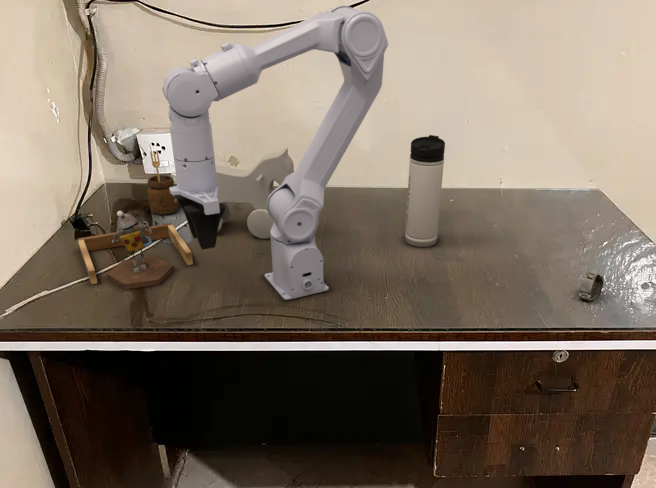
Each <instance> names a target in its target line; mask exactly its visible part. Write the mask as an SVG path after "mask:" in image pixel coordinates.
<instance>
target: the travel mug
mask: <svg viewBox="0 0 656 488" xmlns="http://www.w3.org/2000/svg"><path fill="white" fill-rule="evenodd" d="M445 148H446V142H445V140H443V139H442V138H440V137H439V135H433V134H429V135H428V136H420V137H416V138H414V139H413V140H412V141H411V142H410V154H409V166H408V180H407V181H408V183H407V196H406V197H407V199H406V216H405V231H404V233H405V234H404V240H405V241H404V242H406V243H407V244H408V245H410V246H412V247H416V248H430V247H432V246H434V245H436V244H437V243H438V232H439V220H440V211H441V210H440V209H441V208H440V207H441V199H442V185H443V176H444V164H445V162H444V161H445V150H446V149H445Z"/></svg>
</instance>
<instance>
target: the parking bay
mask: <svg viewBox="0 0 656 488" xmlns="http://www.w3.org/2000/svg"><path fill="white" fill-rule="evenodd" d="M149 227H150V228H151V229H150V230H151V232H152V235H150V234H149V232H148V231H147V230H143V235H144V236H148V237H149V238H150V239H151V241H157V240H162V239H170V240H171V242H172V244H173V246H174V247H175V248H176V250H177V251H178V253H179V254H180V256H181V257H182V260H184V262H185V264H186V265H187V266H192V265H194V260H193V252H192V251H191V249H190V247H189V246H188V244H187V243H186V242H185V240H184V239H183V238H182V236H181V235H180V233H179V232H178V230H177V229H176V227H175V226H174V224H173V223H172V222H169V223H163V224H157V225H151V226H150V225H149ZM114 233H117V231H115V232H108V233H103V234H102V233H101V234H96V235H91V236H85V237H78V238H77V239H76V240H77V244H78V249H79V252H80V255H81V258H82V261H83V264H84V267H85V270H86V273H87V276H88V280H89V281H90V284H91V285H95V284H98V278H97V273H96V268H95V266H94V264H93V261H92V258H91V256H90V253H89V252H93V251H100V250H106V249H111V248H117V247H124V245H123V244H122V242H121V241H120V237H119V236H118V237H117V243H116V244H114V243H112V241H113V240H114ZM144 241H145V242H146V243H147V242H148V240H147V239H145V240H144Z"/></svg>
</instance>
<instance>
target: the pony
mask: <svg viewBox="0 0 656 488" xmlns="http://www.w3.org/2000/svg"><path fill="white" fill-rule="evenodd" d="M293 161H294V160H293V159H292V158H291V156H290V155H289V148H288V147H284V148H283V149H282V150H279V151H274V152H269V153H268V154H265V156H263V157H262V158H261V159H260V160H259V162H258V163H257V164H256V165H255V166H253V167H252V168H250V169H241V168H234V167H230V166H226V165H219V164H215V167H216V177H217V183H218V184H219V192H218V200H219V203H223V204H224V205H225V212H224V213H223V215H222V217H221V220H220V223H219V227H218V233H219V232H220V231H221V230H222V228H223V224H224V223H226V222H228V220H229V219H230V218H231V213H232V209H231V207H230V204H238V205H239V204H240V205H243V204H244V205H245V204H246V205H251V207H252V208H253V209H254V210H252V211H251V213H250V214H249V215H248V216H247V219H246V226H247V228H248V231H249V232H250V233H251V234H252V235H253V236H254V237H256V238H258V239H263V240H264V239H265V240H266V239H269V238H270V239H271V236H270V231H271V228H272V226H273V223H274V219H273V218H272V217H271V216H270V215H269V213H268V211H267V200H268V197H269V195H270V194H271V193H272V192H273V191H274V190H275V187H274V184H275V183H274V182H276V183H277V184H278V186H280V185H281V184H282V183H283V181H284V179H285V177H286V176H288V175H289V174H291V173H293V172H294V171H295V170H294V169H295V167H294V166H295V165H294V162H293Z"/></svg>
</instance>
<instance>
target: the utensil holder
mask: <svg viewBox="0 0 656 488" xmlns="http://www.w3.org/2000/svg"><path fill="white" fill-rule="evenodd" d="M149 154H150V159H151V165H152V167H153V168H155V172H154V174H153V175H152V176H150V177H148V178H147V186H148V187H147V201H148V205H149V209H150V212H151V213H152V214H154V215H158V216H167V215H173V214H175V213H177V212H178V211H179V208H180V204H179V202H178V200H177V199H176V198H175V196H174V195H172V194H171V193H170V190H169V188H170V187H174V186H175V180H174V178H173V176H171V175H168V174H160V171H159V170H162V169H161V166H162V167H166V165H165V164H164V163H162V161H160V156H159V151H158V150H153V151H152V150H150V151H149ZM166 169H167V168H163V172H166V171H167V170H166Z"/></svg>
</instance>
